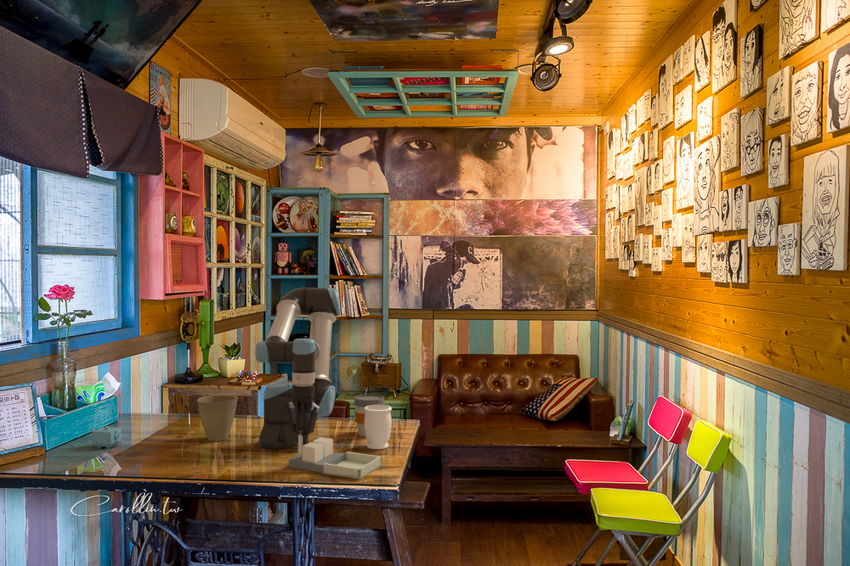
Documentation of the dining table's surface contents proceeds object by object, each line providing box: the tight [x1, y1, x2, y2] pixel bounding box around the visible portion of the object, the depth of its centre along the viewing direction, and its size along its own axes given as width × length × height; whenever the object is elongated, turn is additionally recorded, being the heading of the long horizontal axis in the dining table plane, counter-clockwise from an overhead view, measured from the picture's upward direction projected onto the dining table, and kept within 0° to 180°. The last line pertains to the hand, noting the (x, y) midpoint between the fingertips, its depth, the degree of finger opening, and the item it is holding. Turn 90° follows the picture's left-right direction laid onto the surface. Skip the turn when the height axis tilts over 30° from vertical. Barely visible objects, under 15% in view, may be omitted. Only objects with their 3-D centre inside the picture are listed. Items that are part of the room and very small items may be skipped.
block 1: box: [302, 441, 323, 463], centre depth 191 cm, size 5×5×5 cm
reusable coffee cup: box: [353, 393, 385, 437], centre depth 235 cm, size 13×13×15 cm
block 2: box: [312, 437, 334, 457], centre depth 198 cm, size 5×5×5 cm
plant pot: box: [197, 394, 238, 442], centre depth 224 cm, size 15×15×16 cm
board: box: [288, 451, 346, 474], centre depth 195 cm, size 14×14×2 cm
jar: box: [364, 404, 393, 450], centre depth 216 cm, size 11×10×15 cm
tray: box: [323, 451, 383, 481], centre depth 189 cm, size 14×15×3 cm
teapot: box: [88, 425, 122, 450], centre depth 212 cm, size 12×6×8 cm, turn 87°
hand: (302, 453), depth 193 cm, fingers closed
